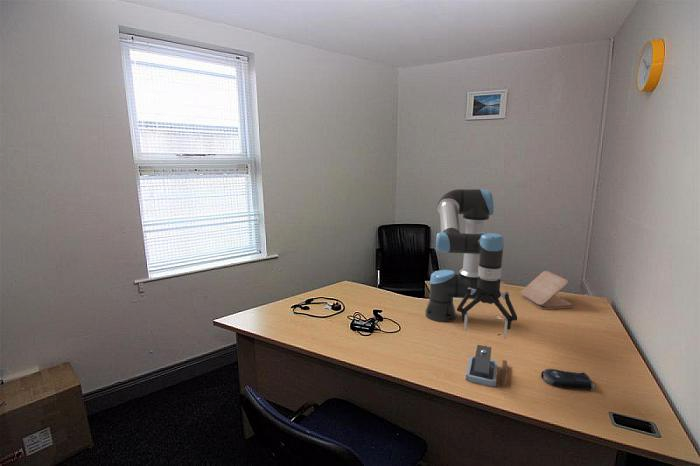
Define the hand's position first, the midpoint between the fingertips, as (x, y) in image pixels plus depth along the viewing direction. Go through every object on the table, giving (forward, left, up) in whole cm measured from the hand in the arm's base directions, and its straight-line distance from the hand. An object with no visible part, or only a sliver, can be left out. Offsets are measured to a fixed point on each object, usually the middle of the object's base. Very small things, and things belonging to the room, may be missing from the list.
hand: (484, 333), depth 131 cm
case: (+28, +89, -16) cm, 94 cm away
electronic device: (+28, +6, -16) cm, 32 cm away
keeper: (0, 0, -16) cm, 16 cm away
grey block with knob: (0, 0, -15) cm, 15 cm away
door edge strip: (+8, +2, -16) cm, 17 cm away
